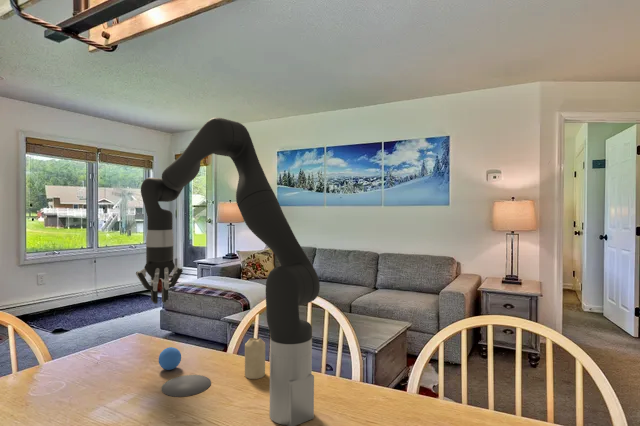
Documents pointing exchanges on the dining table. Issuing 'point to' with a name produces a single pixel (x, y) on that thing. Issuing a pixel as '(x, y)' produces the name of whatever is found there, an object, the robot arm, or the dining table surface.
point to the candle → (254, 358)
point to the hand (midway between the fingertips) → (159, 302)
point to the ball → (169, 358)
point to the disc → (186, 385)
